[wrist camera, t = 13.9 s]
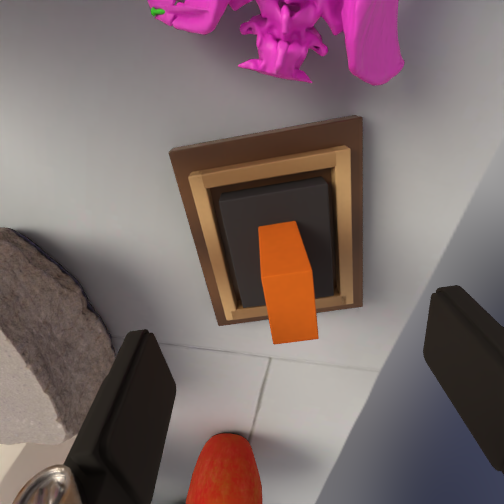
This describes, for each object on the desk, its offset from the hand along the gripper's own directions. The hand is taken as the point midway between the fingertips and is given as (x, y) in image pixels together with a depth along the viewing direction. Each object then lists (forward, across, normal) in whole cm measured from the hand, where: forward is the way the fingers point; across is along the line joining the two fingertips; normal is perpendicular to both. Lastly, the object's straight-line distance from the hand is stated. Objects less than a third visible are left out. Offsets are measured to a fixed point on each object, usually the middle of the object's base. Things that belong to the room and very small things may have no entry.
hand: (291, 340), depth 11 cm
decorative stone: (+10, +17, +4) cm, 20 cm away
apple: (+10, +7, +22) cm, 25 cm away
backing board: (+10, 0, +1) cm, 10 cm away
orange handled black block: (+9, 0, +1) cm, 9 cm away
